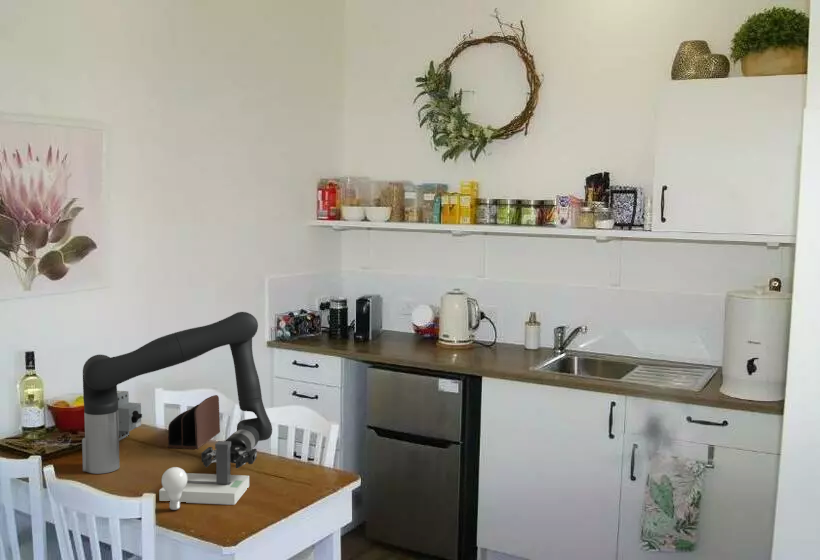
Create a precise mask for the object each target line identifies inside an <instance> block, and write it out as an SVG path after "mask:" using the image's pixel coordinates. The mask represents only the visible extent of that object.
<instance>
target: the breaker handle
mask: <svg viewBox="0 0 820 560" xmlns="http://www.w3.org/2000/svg"><path fill="white" fill-rule="evenodd" d="M230 446H231V441H226V440H218V441H217V442H216V443H215V444H214V450H216V462H215V464H216V465H215V466H216V467H215V469H216V473H215V474H216V484H228V483H229V482H230V475H231V463H230Z"/></svg>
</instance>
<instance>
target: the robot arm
mask: <svg viewBox="0 0 820 560" xmlns="http://www.w3.org/2000/svg"><path fill="white" fill-rule="evenodd" d="M258 329H259V323H258V320H257V318H256V317H255V315H253V314H251V313H249V312H247V311H238V312H234V313H233V314H232V315H230V316H227V317H225V318H223V319H220V320H218V321H216V322H213V323H211V324H207V325H206V324H205V325H203V326H196V327H193V328H188V329H184V330H179V331H177V332H176V331H175V332H173V333H169V334H165V335H162V336H160V337H158V338H155V339H154V340H151V341H149V342H148V343H145V344H144V345H141V346H140V347H139V348H137V349H135V350H133V351H130V352H128V353H124V354H120V355H116V356H112V357H110V356H108V355H105V354H96V355H92V356H90V357H89V358H87V360H86V361H85V363H84V365H83V367H82V392H83V393H82V394H83V407H84V409H83V411H84V413H83V414H84V417H83V418H84V437H82V439H81V449H82V450H81V451H82V453H81V454H82V455H81V456H82V459H81V460H82V472H87V473H88V474H96V475H97V474H99V475H100V474H109V473H111V472H115V471H117V470H119V469H120V440H119V421H118V397H117V391H118V385H120V384H122V383H125V382H127V381H129V380H132V379H134V378H136V377H138V376H141V375H145V374H150V373H154V372H157V371H160V370H164V369H166V368H170V367H174V366H177V365H180V364H183V363H186V362H189V361H191V360H192V359H196V358H198V357H200V356H202V355H204V354H207V353H208V352H210V351H212V350H215V349H217V348H220V347H224V346H228V345H229V348H230V353H231V355H232V360H233V368H234V373H235V383H236V390H237V391H236V392H237V399H238V400H237V401H238V404H239V405H238V407H239V409H240V410H241V411H242V412H250V413H253V414H255V416H256V417H254V418H246V419H243V420H239V422H238V423H237V425H236V431H234V432H233V433H231V434H230V436H228V438H226V440H225V441H231V446H230V464H235V469H240V467H241V468H242V467H243V466H244V465H246V463H247V464H248V465H252V464H254V463H255V461H256V459H257V457H258V456H257V451H258V450H257V449H256V448H255V447H256V446H257V444H258V443H259V442H261V441H266V440H269V439H270V438H271V436H272V434H273V426H272V422H271V420H270V419H269V416H268V414H267V412H266V409H265V405H264V403H263V396H262V395H263V394H262V389H261V382H260V377H259V375H258V371H257V368H256V364H255V359H254V355H253V354H254V353H253V338H254V337H255V335H256V334H257V332H258ZM200 453H201V456H200V457H201V463H203V464H202V465H203V466H204V467H205V468H208V467H209V466H210V465H211V464H212V463H216V449H213V446H209V447H207V448H206V449H204V450H203V451H202V452H200Z"/></svg>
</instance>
